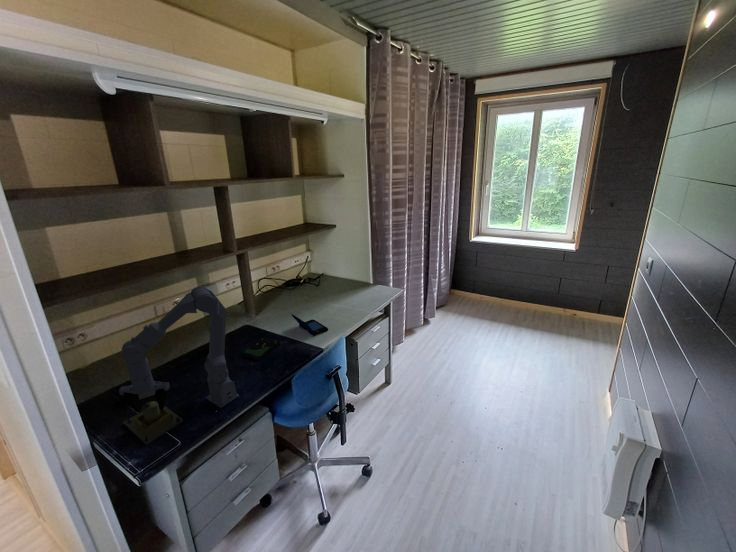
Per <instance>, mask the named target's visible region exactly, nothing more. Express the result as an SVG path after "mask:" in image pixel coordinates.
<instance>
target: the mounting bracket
mask: <svg viewBox="0 0 736 552" xmlns="http://www.w3.org/2000/svg"><path fill="white" fill-rule="evenodd" d="M158 406H159V404H158ZM159 410H160V413H161V416H162V418H161V419H159V420H157V421H156V422H154V423H152V424H151V425H149V426H147V424H146V421H145V418H144V415H143V412H142V411H141V412H137V414H134V415H133V416H131V417H130V418H127V419H126V420H124V421H123V422H122V424H123V425H124V426H125V428H127V429H128V430H129V431H130V432H131V433H132V434H133V435H135V436H136V437H137V438H138V439H139V440H140V441H141V442H142V443H143V444H144V445H146V446H147V445H149V444H150V443H152V442H153V441H155V440H156V439H158V438H160V437H161V436H163V435H164V434H166V433H167V432H169V431H170V430H172V429H174V428H175V427H177V426H178V425H180V424H182V423H183V422H184V420H183V418H182V417H180V416H179V415H178V414H176V413H175V412H173V411H172V410H171V409H170V408H168V406H166V405H165V406H164V408H163V409H160V408H159Z"/></svg>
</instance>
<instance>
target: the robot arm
mask: <svg viewBox="0 0 736 552" xmlns="http://www.w3.org/2000/svg"><path fill="white" fill-rule="evenodd" d="M197 310H198V311H200V312H202V313H207V314H209V315H210V317H209V319H210V321H209V322H210V323H209V326H210V333H209V345H208V346H209V349H208V350H209V351H208V352H209V353H208V354H207V357H206V360H205V362H204V363H203V364H204V365H203V366H204V369H205V371H206V373H207V378H206V380H207V385H208V391H209V395H208V396H206V400H207V401H209V402H210V403H212V404H214V405H215V406H216V407H219V408H220V409H222V408H223V407H225V406H227V404H230V403H231V402H233V400H235V399H237V398H238V397H239V396H240V395H239V393H237V390H236V384H235V382H234V381H232V380H231V378H230V377H229V369H228V368H227V361H226V358H225V347H226V323H227V309H226V307H225V306H224V305H223V303H222V302H221V301H220V300H219V298H218V297H217V296H216V295H215V294H214V292H212V291H211V290H210V289H209V288H207V287H205V286H196V287H194V288H193V289H191V291H190V292H188V293H186V294H185V295H184V297H182V299H181V300H180V301H179V302H178V303H177V304H176V305H175V306H174V307H173V308H171V310H169V311H168V312H167V313H166V314H165V315H164V316H163V317H162V318H161V319H160V320H159V321H158V322H151V323H150V324H149V325H148V324H147V325H144V326H143V327H142V328H143V329H142V330H141V332H139V333H138V334H137V335H136V336H134V337H131V339H130V340H127V341H125V342H124V344H123V345H122V347H121V354H122V359H123V360H124V362H125V365H126V370H127V372H128V377H129V380H130V383H131V384H129V385H125V386H121V387H120V388H119V390H118V393H119V395H120V396H123V397H122V402H124V403H127V404H128V405H129V406H131V408H133V410H134V411H135V412H136V413H139V411H140V410H142V404H141V399H140V400H139V395H138V394H144V393H147V392H151V391H155V395H153V397H154V399H155V400H156V402H157V403H158V404H159V408H160V409H163V408H164V406H166V396H167V393H168V391H169V389H170V386H171V385H170V382H169V381H167V382H166V381H158V380H154V377H153V375H152V371H151V367H150V364H149V360H148V359H147V358H146V356H147V352H148V351H149V350H150V349H151V348H153V347H154V346H155V345H156V344H157V343H158V342H160V340H162V339H163V338H164V337H165V336H166V333H167V330H168V329H169V328H170V327H172V326H173V325H174V324H175V323H176V322H178V321H179V320H181V318H182V317H184V316H185V315H187V314H198V311H197Z"/></svg>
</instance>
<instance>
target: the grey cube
mask: <svg viewBox="0 0 736 552" xmlns="http://www.w3.org/2000/svg"><path fill="white" fill-rule="evenodd" d="M155 393H156V391H151V392H147V393H144V394H138V395H139V400H140V401H141V400H143V399H147V398H148V397H152V396H154V395H155Z"/></svg>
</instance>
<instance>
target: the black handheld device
mask: <svg viewBox="0 0 736 552" xmlns="http://www.w3.org/2000/svg"><path fill="white" fill-rule="evenodd" d="M291 317H292V318H293V319H294V320H295V321H296V323H298V326H299V328H302V329H303V330H305V331H307V332H308V333H309V334H311V336H313V337H316V336H317V335H318V336H319V335H321V334H323V333H326V332H328V331H329V328H328V327H327V326H326V325H324V324H322V323H320V322H319V321H317V320H315V319H309V320H307V321H304V320H302V318H301V319H300V318H299V317H297V316H296V315H294V314H293V313H292V314H291Z"/></svg>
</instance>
